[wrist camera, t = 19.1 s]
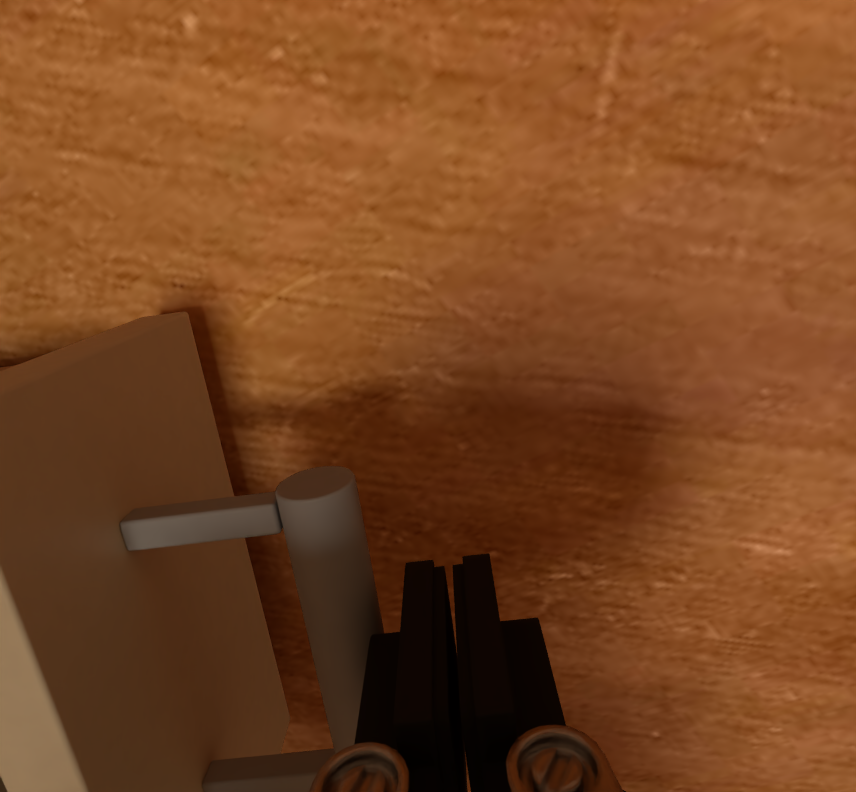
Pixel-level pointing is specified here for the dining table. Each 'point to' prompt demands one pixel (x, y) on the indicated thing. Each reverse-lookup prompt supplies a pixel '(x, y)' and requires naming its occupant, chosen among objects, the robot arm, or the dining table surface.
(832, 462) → the dining table surface
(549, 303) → the dining table surface
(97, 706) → the drawer
